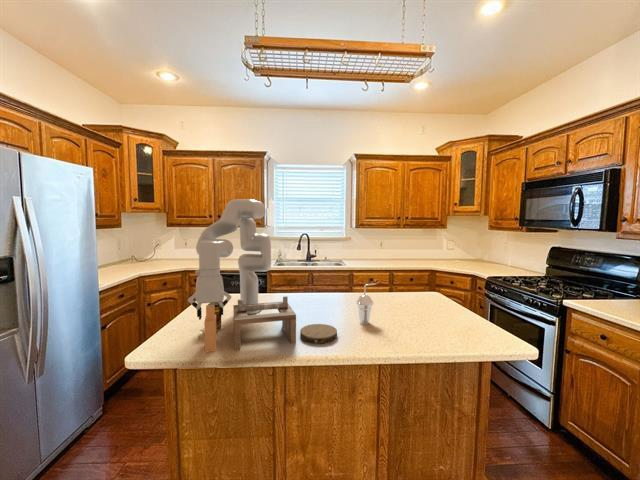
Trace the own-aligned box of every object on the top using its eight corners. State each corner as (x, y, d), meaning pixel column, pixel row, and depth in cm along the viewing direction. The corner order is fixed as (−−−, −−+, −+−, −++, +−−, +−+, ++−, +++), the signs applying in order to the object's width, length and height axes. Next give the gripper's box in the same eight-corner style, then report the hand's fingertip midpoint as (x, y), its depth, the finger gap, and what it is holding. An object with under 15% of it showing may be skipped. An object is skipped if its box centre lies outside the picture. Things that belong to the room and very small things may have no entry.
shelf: (233, 331, 133) (233, 294, 132) (286, 326, 141) (286, 290, 139) (235, 350, 114) (234, 307, 113) (295, 343, 122) (296, 302, 120)
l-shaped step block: (206, 343, 121) (205, 303, 120) (216, 342, 122) (216, 302, 121) (204, 351, 113) (204, 309, 112) (216, 350, 114) (215, 308, 113)
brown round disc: (302, 329, 137) (302, 323, 137) (336, 330, 137) (336, 324, 136) (298, 344, 121) (298, 337, 121) (337, 345, 121) (337, 338, 120)
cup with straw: (360, 318, 153) (361, 279, 151) (376, 322, 147) (377, 282, 146) (352, 323, 146) (353, 282, 144) (369, 327, 140) (370, 285, 139)
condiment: (215, 333, 132) (215, 306, 131) (199, 330, 134) (199, 304, 133) (225, 327, 139) (225, 302, 138) (210, 325, 141) (210, 300, 140)
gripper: (184, 275, 109) (185, 323, 110) (233, 273, 114) (233, 318, 116) (186, 272, 116) (187, 316, 118) (232, 270, 121) (233, 312, 123)
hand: (210, 317), depth 117 cm, fingers open, 6 cm apart
